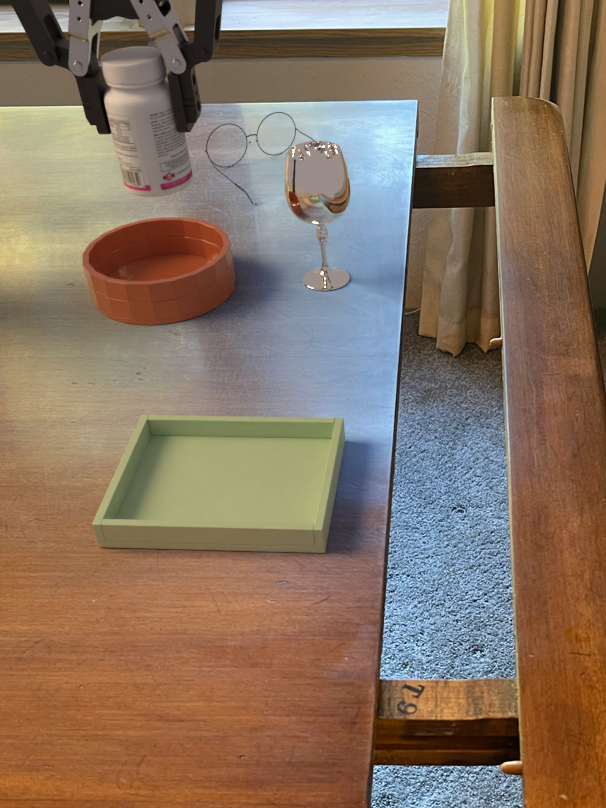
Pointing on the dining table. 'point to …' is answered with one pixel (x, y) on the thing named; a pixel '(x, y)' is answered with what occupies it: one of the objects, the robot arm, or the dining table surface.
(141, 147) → the pill bottle
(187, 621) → the dining table surface
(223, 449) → the tray
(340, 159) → the wineglass
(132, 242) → the bowl
